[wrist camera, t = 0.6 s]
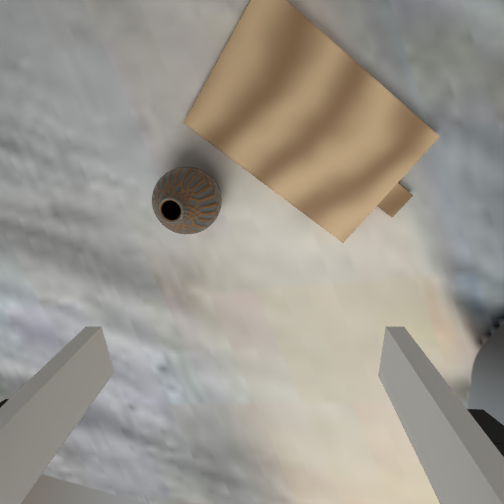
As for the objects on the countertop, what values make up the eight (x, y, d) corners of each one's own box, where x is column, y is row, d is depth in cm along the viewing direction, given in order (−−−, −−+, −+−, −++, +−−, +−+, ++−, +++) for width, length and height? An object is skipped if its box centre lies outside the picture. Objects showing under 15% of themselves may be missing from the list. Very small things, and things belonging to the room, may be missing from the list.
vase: (230, 173, 30) (214, 179, 22) (220, 229, 33) (203, 254, 25) (171, 159, 30) (134, 161, 22) (166, 217, 33) (130, 238, 25)
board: (186, 124, 29) (183, 122, 28) (263, -13, 24) (262, -21, 23) (355, 251, 32) (358, 254, 31) (449, 151, 28) (456, 151, 27)
